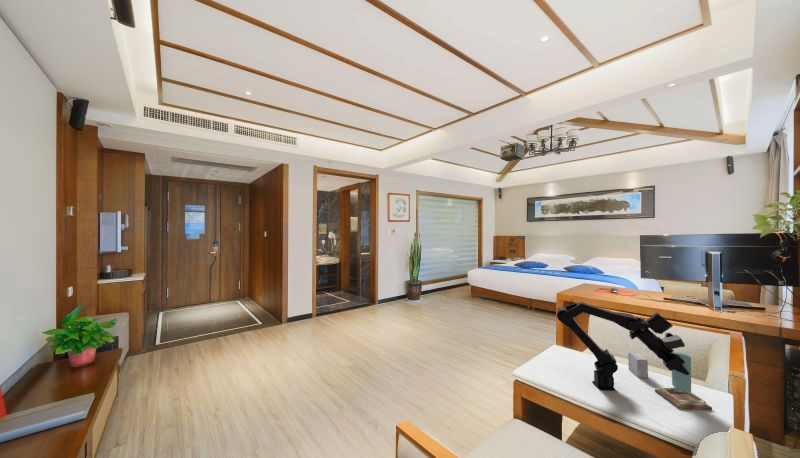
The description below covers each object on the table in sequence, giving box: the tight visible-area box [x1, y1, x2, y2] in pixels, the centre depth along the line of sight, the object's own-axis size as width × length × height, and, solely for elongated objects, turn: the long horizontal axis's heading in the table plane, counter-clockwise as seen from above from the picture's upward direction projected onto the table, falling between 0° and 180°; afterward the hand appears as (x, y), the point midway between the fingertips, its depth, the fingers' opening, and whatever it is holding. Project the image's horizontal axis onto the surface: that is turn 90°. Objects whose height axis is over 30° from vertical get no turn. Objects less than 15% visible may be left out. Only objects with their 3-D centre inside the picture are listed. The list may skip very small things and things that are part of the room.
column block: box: [671, 350, 692, 392], centre depth 120 cm, size 4×4×14 cm
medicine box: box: [627, 352, 649, 379], centre depth 142 cm, size 8×4×9 cm, turn 168°
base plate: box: [654, 386, 713, 411], centre depth 120 cm, size 12×12×2 cm
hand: (685, 371), depth 120 cm, fingers closed on column block, 4 cm apart
